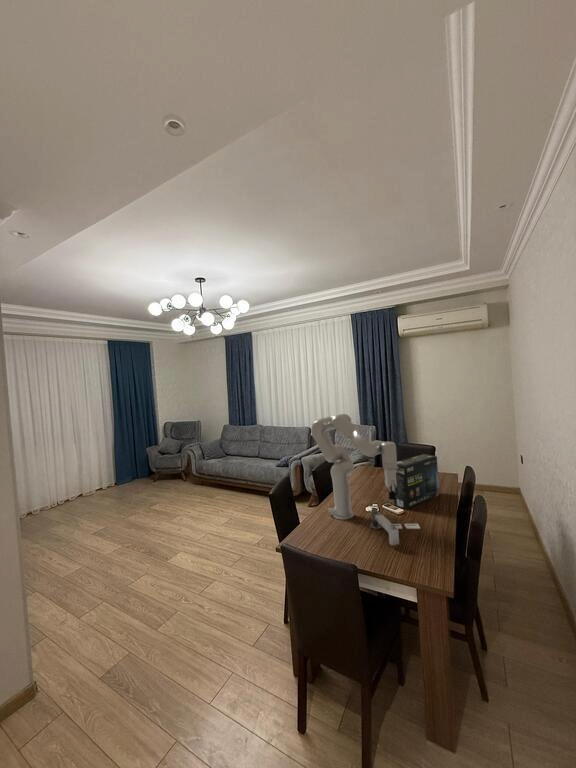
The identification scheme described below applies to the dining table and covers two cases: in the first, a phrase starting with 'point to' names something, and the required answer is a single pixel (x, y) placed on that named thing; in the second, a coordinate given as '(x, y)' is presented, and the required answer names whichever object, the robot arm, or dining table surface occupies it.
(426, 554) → the dining table surface
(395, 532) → the cable arm
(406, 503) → the router box
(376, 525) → the post
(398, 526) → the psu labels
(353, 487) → the dining table surface
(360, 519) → the dining table surface
